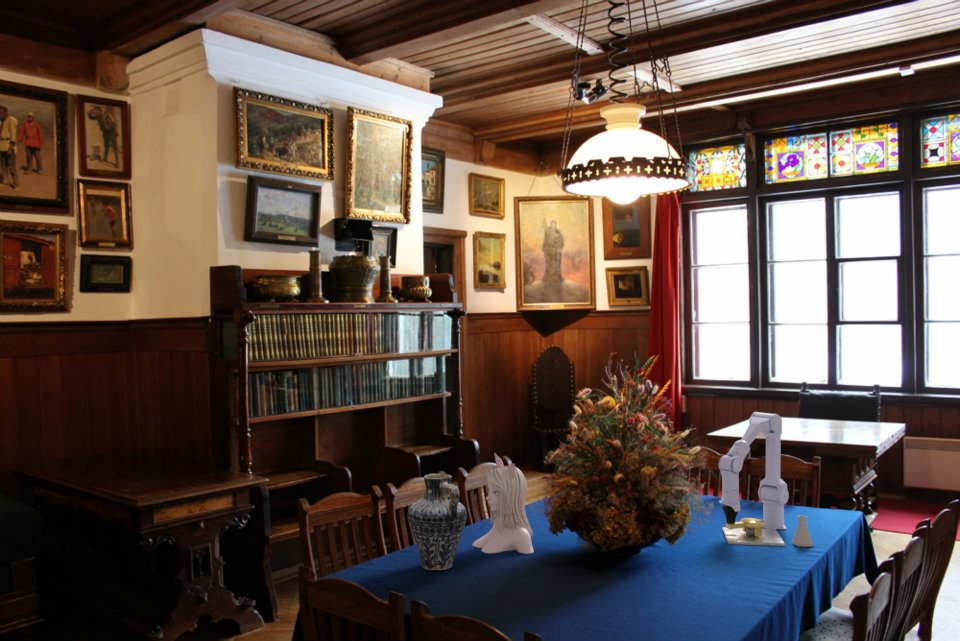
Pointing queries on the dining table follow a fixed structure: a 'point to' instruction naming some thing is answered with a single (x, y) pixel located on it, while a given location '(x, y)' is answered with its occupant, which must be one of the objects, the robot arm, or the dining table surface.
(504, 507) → the figurine bust
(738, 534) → the base plate
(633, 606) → the dining table surface
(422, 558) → the jug
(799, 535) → the flask
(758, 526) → the gold bar with disc
